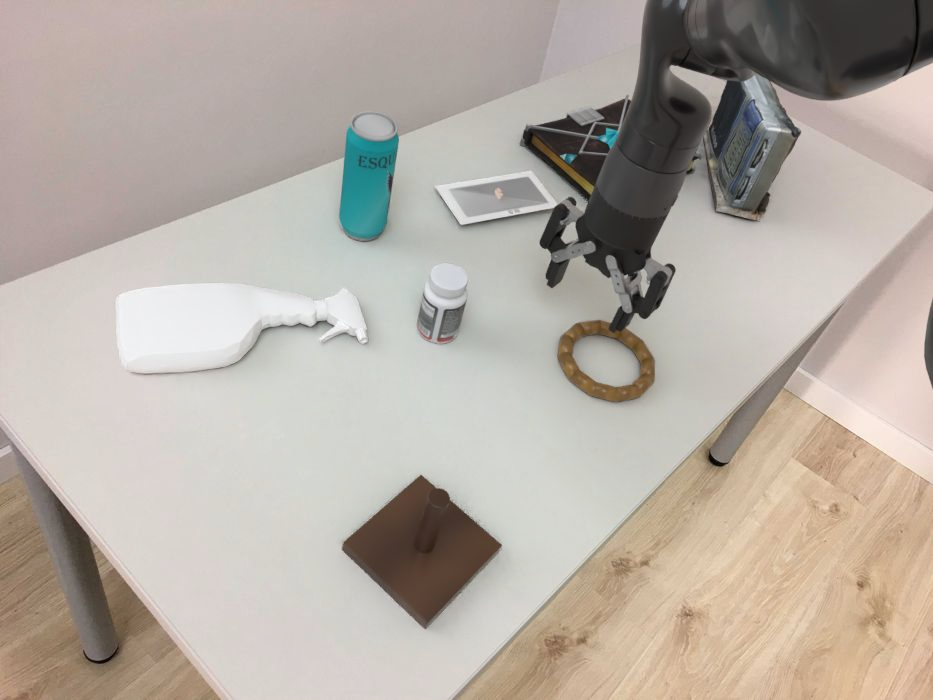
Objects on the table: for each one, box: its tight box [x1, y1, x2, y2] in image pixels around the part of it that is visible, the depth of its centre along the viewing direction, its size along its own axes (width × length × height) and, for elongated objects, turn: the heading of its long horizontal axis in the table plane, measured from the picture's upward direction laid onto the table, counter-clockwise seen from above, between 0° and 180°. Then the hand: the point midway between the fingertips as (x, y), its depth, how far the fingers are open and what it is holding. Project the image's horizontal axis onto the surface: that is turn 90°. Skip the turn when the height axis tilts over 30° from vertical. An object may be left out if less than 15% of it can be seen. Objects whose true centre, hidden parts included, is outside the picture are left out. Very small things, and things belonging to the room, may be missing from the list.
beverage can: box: [338, 110, 400, 242], centre depth 91 cm, size 6×6×15 cm
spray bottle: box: [114, 282, 369, 374], centre depth 82 cm, size 3×11×24 cm
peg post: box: [341, 474, 503, 630], centre depth 67 cm, size 10×10×10 cm
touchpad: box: [434, 170, 559, 226], centre depth 104 cm, size 8×15×2 cm, turn 117°
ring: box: [557, 319, 656, 403], centre depth 89 cm, size 11×11×2 cm
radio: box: [702, 73, 802, 221], centre depth 115 cm, size 23×9×15 cm, turn 168°
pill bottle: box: [416, 262, 469, 345], centre depth 85 cm, size 5×5×8 cm
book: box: [519, 94, 704, 201], centre depth 115 cm, size 22×17×5 cm
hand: (584, 305), depth 87 cm, fingers open, 8 cm apart
